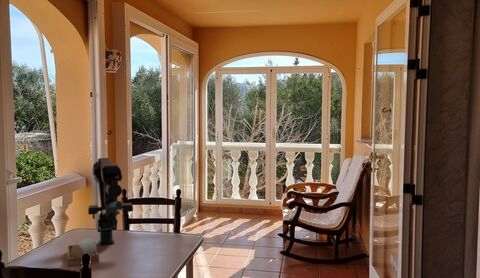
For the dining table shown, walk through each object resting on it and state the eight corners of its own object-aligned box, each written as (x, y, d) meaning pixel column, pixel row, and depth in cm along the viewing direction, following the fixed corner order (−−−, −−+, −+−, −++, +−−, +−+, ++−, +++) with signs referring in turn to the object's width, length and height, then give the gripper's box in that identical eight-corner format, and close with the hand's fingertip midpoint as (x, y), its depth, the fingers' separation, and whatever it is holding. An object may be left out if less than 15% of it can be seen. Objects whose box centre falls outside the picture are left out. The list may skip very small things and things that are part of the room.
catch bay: (68, 252, 171) (67, 245, 171) (96, 248, 176) (96, 242, 176) (67, 266, 155) (67, 259, 155) (98, 262, 160) (98, 255, 160)
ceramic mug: (69, 260, 162) (69, 242, 162) (83, 253, 170) (83, 236, 169) (88, 264, 158) (88, 246, 158) (102, 257, 166) (102, 240, 165)
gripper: (87, 198, 160) (88, 234, 161) (134, 195, 167) (134, 230, 168) (88, 192, 171) (88, 227, 172) (131, 190, 177) (131, 223, 178)
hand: (111, 227), depth 172 cm, fingers closed
